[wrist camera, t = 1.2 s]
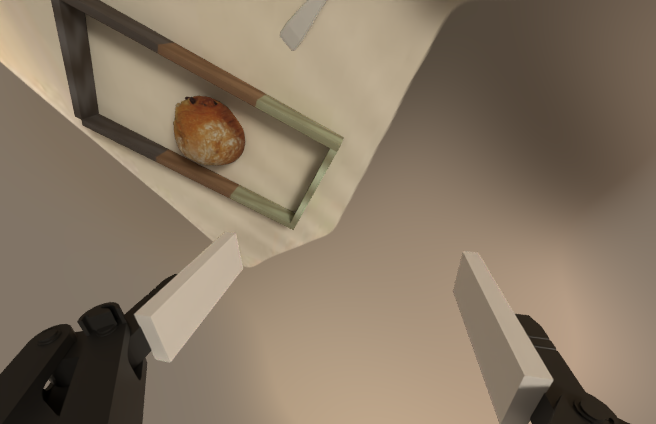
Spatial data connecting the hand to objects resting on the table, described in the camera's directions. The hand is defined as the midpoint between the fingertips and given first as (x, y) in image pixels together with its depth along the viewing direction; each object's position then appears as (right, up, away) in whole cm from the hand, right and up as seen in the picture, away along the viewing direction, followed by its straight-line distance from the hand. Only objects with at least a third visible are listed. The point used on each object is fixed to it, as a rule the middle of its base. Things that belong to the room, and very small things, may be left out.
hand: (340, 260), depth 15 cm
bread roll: (-18, +16, +25) cm, 35 cm away
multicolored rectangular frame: (-19, +16, +24) cm, 35 cm away
